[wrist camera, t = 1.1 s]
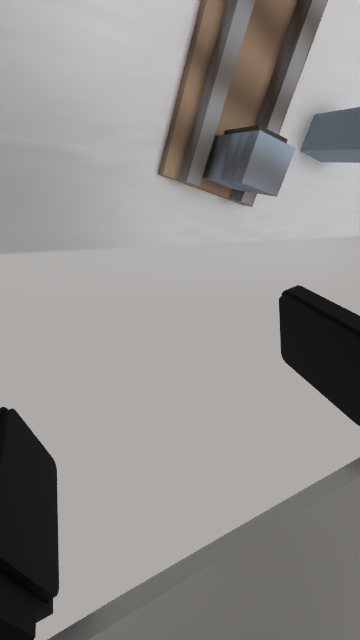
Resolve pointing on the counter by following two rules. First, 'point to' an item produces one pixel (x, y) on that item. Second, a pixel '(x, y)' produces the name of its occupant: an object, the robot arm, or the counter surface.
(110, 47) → the counter surface
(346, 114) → the blue-grey block
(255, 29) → the rail
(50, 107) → the counter surface
